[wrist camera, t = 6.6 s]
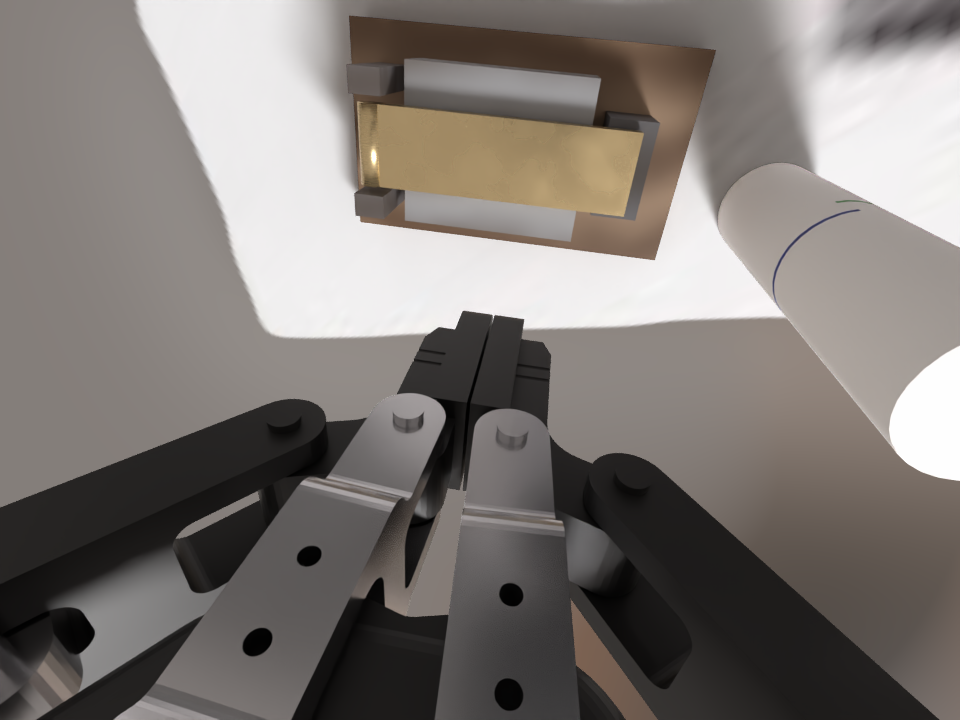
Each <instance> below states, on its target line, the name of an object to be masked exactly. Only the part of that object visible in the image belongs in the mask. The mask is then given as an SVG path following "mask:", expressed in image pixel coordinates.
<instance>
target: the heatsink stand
mask: <svg viewBox="0 0 960 720" xmlns="http://www.w3.org/2000/svg"><path fill="white" fill-rule="evenodd" d="M349 22H350V40H351V58H352V64H347V80H348V93H352V94H354V112H355V130H356V148H357V167H358V185H359V191H357V192H356V193H354V196H355V212H356V216H360V221H361V222H365V223H373V224H380V225H388V226H396V227H403V228H411V229H419V230H427V231H434V232H442V233H450V234H457V235H465V236H473V237H480V238H488V239H496V240H504V241H511V242H519V243H527V244H534V245H542V246H550V247H557V248H565V249H573V250H581V251H588V252H596V253H604V254H611V255H619V256H627V257H635V258H642V259H650V260H655V257H656V254H657V250H658V247H659V244H660V240H661V237H662V233H663V230H664V226H665V223H666V220H667V216H668V213H669V209H670V206H671V202H672V199H673V196H674V192H675V189H676V185H677V182H678V178H679V175H680V172H681V168H682V165H683V161H684V158H685V155H686V151H687V148H688V144H689V141H690V137H691V134H692V131H693V127H694V124H695V120H696V117H697V113H698V110H699V107H700V103H701V100H702V96H703V93H704V89H705V86H706V83H707V79H708V76H709V72H710V69H711V65H712V62H713V59H714V55H715V52H716V50H711V49H700V48H690V47H679V46H668V45H657V44H647V43H636V42H625V41H615V40H604V39H593V38H583V37H572V36H561V35H551V34H540V33H529V32H518V31H508V30H497V29H486V28H476V27H465V26H454V25H444V24H433V23H422V22H411V21H401V20H390V19H379V18H369V17H358V16H349ZM357 101H376V102H381V103H389V104H398V105H407V106H417V107H426V108H435V109H444V110H454V111H463V112H472V113H482V114H491V115H500V116H509V117H519V118H528V119H537V120H546V121H556V122H565V123H574V124H584V125H593V126H602V127H611V128H621V129H630V130H639V131H643V133H644V136H643V140H642V144H641V148H640V152H639V156H638V160H637V164H636V168H635V173H634V177H633V181H632V185H631V189H630V193H629V197H628V201H627V206H626V210H625V214H624V217H621V216H613V215H605V214H597V213H589V212H580V211H572V210H564V209H556V208H548V207H539V206H531V205H523V204H515V203H507V202H499V201H490V200H482V199H474V198H466V197H458V196H449V195H441V194H433V193H425V192H417V191H408V190H400V189H392V188H384V187H367V186H363V185H362V184H361V168H360V149H359V130H358V111H357Z"/></svg>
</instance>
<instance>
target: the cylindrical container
mask: <svg viewBox="0 0 960 720" xmlns="http://www.w3.org/2000/svg"><path fill="white" fill-rule="evenodd" d="M718 228H719V231H720V234H721V236H722V238H723V240H724V241H725V243H726V244H727V245H728V246H729V247H730V249H731V250H732V251H733V252H734V254H735V255H736V256H737V257H738V258H739V260H740V261H741V262H742V263H743V265H744V266H745V267H746V268H747V270H748V271H749V272H750V273H751V274H752V276H753V277H754V278H755V279H756V281H757V282H758V283H759V284H760V286H761V287H762V288H763V289H764V290H765V292H766V293H767V294H768V295H769V297H770V298H771V299H772V300H773V302H774V303H775V304H776V305H777V306H778V308H779V309H780V310H781V311H782V313H783V314H784V315H785V316H786V317H787V319H788V320H789V321H790V322H791V323H792V325H793V326H794V327H795V328H796V330H797V331H798V332H799V333H800V335H801V336H802V337H803V338H804V340H805V341H806V342H807V343H808V345H809V346H810V347H811V348H812V349H813V351H814V352H815V353H816V354H817V356H818V357H819V358H820V359H821V361H822V362H823V363H824V364H825V365H826V367H827V368H828V369H829V370H830V372H831V373H832V374H833V375H834V376H835V378H836V379H837V380H838V381H839V383H840V384H841V385H842V386H843V387H844V389H845V390H846V391H847V392H848V393H849V395H850V396H851V397H852V399H854V401H855V402H856V403H857V405H858V406H859V407H860V408H861V410H862V411H863V412H864V413H865V414H866V416H867V417H868V418H869V419H870V421H871V422H872V423H873V424H874V426H875V427H876V428H877V429H878V431H879V432H880V433H881V434H882V435H883V437H884V438H885V439H886V440H887V442H888V443H889V444H890V445H891V447H892V448H893V449H894V450H895V451H896V453H897V454H898V455H899V456H900V457H901V458H902V459H903V460H904V461H905V462H906V463H907V464H909V465H911V466H912V467H914V468H916V469H917V470H919V471H921V472H924V473H927V474H930V475H933V476H936V477H939V478H946V479H952V480H959V481H960V248H959V247H957V246H955V245H953V244H951V243H949V242H947V241H945V240H943V239H941V238H940V237H938V236H936V235H934V234H932V233H930V232H928V231H926V230H924V229H922V228H920V227H918V226H916V225H914V224H912V223H910V222H908V221H906V220H904V219H902V218H900V217H898V216H896V215H894V214H892V213H890V212H888V211H886V210H884V209H882V208H880V207H878V206H876V205H874V204H872V203H870V202H869V201H867V200H865V199H863V198H861V197H859V196H857V195H855V194H853V193H851V192H849V191H847V190H845V189H843V188H841V187H839V186H837V185H835V184H833V183H831V182H829V181H827V180H825V179H823V178H821V177H819V176H817V175H816V174H814V173H812V172H810V171H808V170H806V169H804V168H802V167H799V166H797V165H794V164H789V163H772V164H767V165H764V166H760V167H758V168H756V169H754V170H751V171H750V172H748V173H747V174H745V175H744V176H742V177H741V178H740V179H739V180H738V181H736V182H735V183H734V184H733V186H732V187H731V188H730V189H729V190H728V192H727V193H726V195H725V197H724V198H723V200H722V203H721V205H720V208H719V213H718Z"/></svg>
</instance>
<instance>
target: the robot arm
mask: <svg viewBox="0 0 960 720" xmlns="http://www.w3.org/2000/svg"><path fill="white" fill-rule="evenodd" d="M492 321H493V323H492ZM523 324H524V319H518V318H511V317H504V316H497V315H495V316H494V319H493V315H490V314H483V313H476V312H469V311H463V312H462V314H461V316H460V319H459V321H458V324H457V326H456V329H455V330H454V329H447V328H441V327H439V328H437V329H436V330H434V331H433V332H431V333H430V334H428V335H427V336H425V338H424V340H423V342H422V344H421V346H420V348H419V351H418V352H417V355H416V356H415V358H414V362H413V363H412V365H411V366H410V369H409V371H408V372H407V374H406V377H405V379H404V381H403V383H402V385H401V387H400V389H399V391H398V393H397V395H393V396H390V397H388V398H386V399H384V400H382V401H380V402H379V403H378V404H377V405H376V406H375V407H374V408H373V410H372V411H371V413H370V414H369V416H368V417H367V418H364V419H359V420H350V421H334V422H326V416H325V413H324V411H323V410H322V409H321V408H320V407H319V406H318V405H316V404H314V403H312V402H310V401H306V400H300V399H287V400H280V401H275V402H272V403H270V404H267V405H264V406H261V407H259V408H256V409H254V410H251V411H248V412H246V413H243V414H241V415H238V416H236V417H233V418H230V419H228V420H225V421H223V422H220V423H217V424H215V425H212V426H210V427H207V428H204V429H202V430H199V431H197V432H194V433H192V434H189V435H186V436H184V437H181V438H179V439H176V440H173V441H171V442H169V443H166V444H163V445H161V446H158V447H155V448H153V449H150V450H148V451H145V452H142V453H140V454H137V455H135V456H132V457H130V458H128V459H124V460H122V461H119V462H117V463H114V464H111V465H109V466H106V467H104V468H101V469H99V470H96V471H93V472H91V473H88V474H86V475H83V476H81V477H78V478H75V479H73V480H70V481H68V482H65V483H62V484H60V485H57V486H55V487H52V488H50V489H47V490H44V491H42V492H39V493H37V494H34V495H32V496H29V497H26V498H24V499H21V500H19V501H16V502H13V503H11V504H8V505H6V506H3V507H1V508H0V720H626V719H625V718H624V717H623V715H622V713H621V712H620V711H619V709H618V708H617V706H616V705H615V704H614V703H613V701H612V700H611V699H610V698H609V697H608V695H607V694H606V693H605V692H604V691H603V690H602V689H601V688H600V686H598V684H597V683H596V682H595V681H594V680H593V679H592V678H591V677H589V676H588V675H587V674H586V673H585V672H583V671H582V670H581V669H580V668H579V667H577V666H576V662H575V649H574V637H573V625H572V613H571V600H572V601H573V603H574V604H575V605H576V607H577V608H578V609H579V611H580V612H581V614H582V615H583V616H584V618H585V619H586V621H587V622H588V623H589V625H590V626H591V627H592V629H593V630H594V632H595V633H596V634H597V636H598V637H599V638H600V640H601V641H602V643H603V644H604V645H605V647H606V648H607V649H608V651H609V652H610V654H611V655H612V657H613V658H614V659H615V661H616V662H617V663H618V665H619V666H620V668H621V669H622V670H623V672H624V673H625V674H626V676H627V677H628V679H629V680H630V681H631V683H632V684H633V686H634V687H635V688H636V690H637V691H638V693H639V694H640V695H641V697H642V698H643V700H644V701H645V702H646V704H647V705H648V706H649V708H650V709H651V711H652V712H653V713H654V715H655V716H656V717H657V719H658V720H939V719H938V718H937V717H936V716H935V715H933V714H932V713H931V712H930V711H929V710H928V709H927V708H926V707H924V706H923V705H922V704H921V703H920V702H919V701H918V700H917V699H915V698H914V697H913V696H912V695H911V694H910V693H909V692H908V691H907V690H905V689H904V688H903V687H902V686H901V685H900V684H899V683H898V682H897V681H895V680H894V679H893V678H892V677H891V676H890V675H889V674H888V673H887V672H885V671H884V670H883V669H882V668H881V667H880V666H879V665H877V664H876V663H875V662H874V661H873V660H872V659H871V658H870V657H869V656H867V655H866V654H865V653H864V652H863V651H862V650H861V649H860V648H859V647H857V646H856V645H855V644H854V643H853V642H852V641H851V640H850V639H849V638H847V637H846V636H845V635H844V634H843V633H842V632H841V631H840V630H839V629H837V628H836V627H835V626H834V625H833V624H832V623H831V622H830V621H828V620H827V619H826V618H825V617H824V616H823V615H822V614H821V613H819V612H818V611H817V610H816V609H815V608H814V607H813V606H812V605H811V604H809V603H808V602H807V601H806V600H805V599H804V598H803V597H802V596H801V595H799V594H798V593H797V592H796V591H795V590H794V589H793V588H791V587H790V586H789V585H788V584H787V583H786V582H785V581H784V580H783V579H781V578H780V577H779V576H778V575H777V574H776V573H775V572H774V571H773V570H771V569H770V568H769V567H768V566H767V565H766V564H765V563H764V562H763V561H761V560H760V559H759V558H758V557H757V556H756V555H755V554H754V553H752V552H751V551H750V550H749V549H748V548H747V547H746V546H745V545H744V544H743V543H741V542H740V541H739V540H738V539H737V538H736V537H735V536H734V535H732V534H731V533H730V532H729V531H728V530H727V529H726V528H725V527H724V526H722V525H721V524H720V523H719V522H718V521H717V520H716V519H715V518H713V517H712V516H711V515H710V514H709V513H708V512H707V511H706V510H705V509H703V508H702V507H701V506H700V505H699V504H698V503H697V502H696V501H694V500H693V499H692V498H691V497H690V496H689V495H688V494H687V493H686V492H684V491H683V490H682V489H681V488H680V487H679V486H678V485H677V484H676V483H674V482H673V481H672V480H671V479H670V478H669V477H668V476H667V475H665V474H664V473H663V472H662V471H661V470H660V469H659V468H657V467H656V466H655V465H653V464H651V463H650V462H649V461H646V460H644V459H642V458H640V457H637V456H634V455H630V454H624V453H612V454H607V455H603V456H601V457H599V458H598V459H597V460H595V461H594V462H593V464H592V463H589V462H587V461H584V460H582V459H580V458H577V457H575V456H573V455H571V454H569V453H568V452H566V451H564V450H563V449H562V448H561V447H559V446H558V445H557V444H556V443H555V442H554V440H553V439H552V438H551V436H550V434H549V432H548V428H547V416H548V399H549V379H550V364H551V354H550V353H549V351H548V350H547V348H546V347H545V345H544V343H543V342H537V341H529V340H523V339H521V338H522V331H523ZM464 470H465V471H464ZM463 474H464V482H463V491H466V496H465V504H464V509H463V512H462V519H461V526H460V533H459V541H458V549H457V557H456V564H455V571H454V579H453V586H452V594H451V602H450V609H449V615H439V616H425V617H424V616H423V617H408V616H406V615H407V610H408V607H409V603H410V600H411V597H412V593H413V591H414V588H415V586H416V583H417V580H418V578H419V575H420V572H421V569H422V566H423V564H424V561H425V559H426V556H427V553H428V551H429V548H430V545H431V542H432V540H433V537H434V534H435V532H436V529H437V526H438V523H439V520H440V514H441V508H442V506H443V504H444V500H445V497H446V493H447V489H448V488H450V489H456V490H460V486H461V482H462V478H463ZM256 491H258V495H259V499H260V500H259V501H257V502H255V503H253V504H251V505H249V506H247V507H245V508H243V509H241V510H239V511H237V512H236V513H233V514H231V515H230V516H228V517H225V518H223V519H222V520H220V521H218V522H216V523H214V524H212V525H210V526H208V527H206V528H204V529H202V530H200V531H198V532H196V533H194V534H192V535H190V536H187V537H184V538H180V539H175V538H176V537H177V535H178V534H179V533H180V532H181V531H182V530H183V529H184V528H185V527H187V526H188V525H190V524H191V523H193V522H195V521H197V520H199V519H201V518H203V517H205V516H207V515H209V514H211V513H214V512H216V511H217V510H220V509H222V508H223V507H226V506H228V505H230V504H232V503H234V502H236V501H238V500H240V499H242V498H244V497H246V496H248V495H250V494H252V493H254V492H256ZM570 598H571V600H570Z"/></svg>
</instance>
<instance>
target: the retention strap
mask: <svg viewBox="0 0 960 720" xmlns="http://www.w3.org/2000/svg"><path fill="white" fill-rule="evenodd" d="M357 111H358V130H359V149H360V168H361V184H362V185H363V186H367V187H384V188H392V189H400V190H408V191H417V192H425V193H433V194H441V195H449V196H458V197H466V198H474V199H482V200H490V201H499V202H507V203H515V204H523V205H531V206H539V207H548V208H556V209H564V210H572V211H580V212H589V213H597V214H605V215H613V216H621V217H624V214H625V210H626V206H627V201H628V197H629V193H630V189H631V185H632V181H633V177H634V173H635V168H636V164H637V160H638V156H639V152H640V148H641V144H642V140H643V136H644V133H643V131H639V130H630V129H621V128H611V127H602V126H593V125H584V124H574V123H565V122H556V121H546V120H537V119H528V118H519V117H509V116H500V115H491V114H482V113H472V112H463V111H454V110H444V109H435V108H426V107H417V106H407V105H398V104H389V103H381V102H376V101H357Z"/></svg>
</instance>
